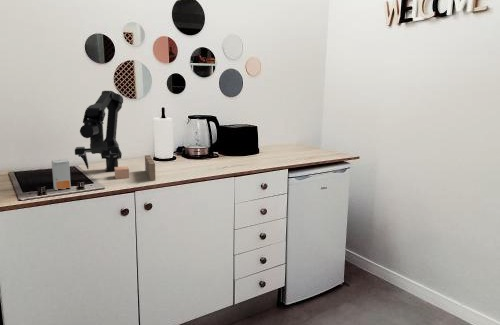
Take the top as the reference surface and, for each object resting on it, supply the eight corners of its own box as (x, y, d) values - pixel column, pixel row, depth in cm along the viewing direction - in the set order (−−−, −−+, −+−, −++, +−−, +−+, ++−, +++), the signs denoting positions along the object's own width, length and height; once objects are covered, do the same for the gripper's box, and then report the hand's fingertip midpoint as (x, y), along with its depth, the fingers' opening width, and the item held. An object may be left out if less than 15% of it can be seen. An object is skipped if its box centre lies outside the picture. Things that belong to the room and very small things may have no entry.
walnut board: (145, 170, 187) (144, 155, 185) (150, 170, 188) (149, 155, 186) (149, 180, 168) (149, 163, 166) (155, 180, 168) (154, 163, 167)
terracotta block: (114, 176, 175) (114, 167, 174) (128, 175, 177) (127, 166, 176) (115, 179, 170) (115, 169, 169) (129, 178, 172) (128, 168, 171)
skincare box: (55, 191, 149) (52, 162, 146) (53, 188, 152) (51, 160, 149) (71, 188, 152) (69, 160, 150) (69, 186, 155) (67, 159, 153)
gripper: (72, 138, 155) (75, 173, 158) (118, 136, 162) (120, 170, 165) (74, 134, 165) (77, 168, 168) (118, 133, 172) (119, 165, 175)
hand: (98, 168), depth 169 cm, fingers open, 9 cm apart
